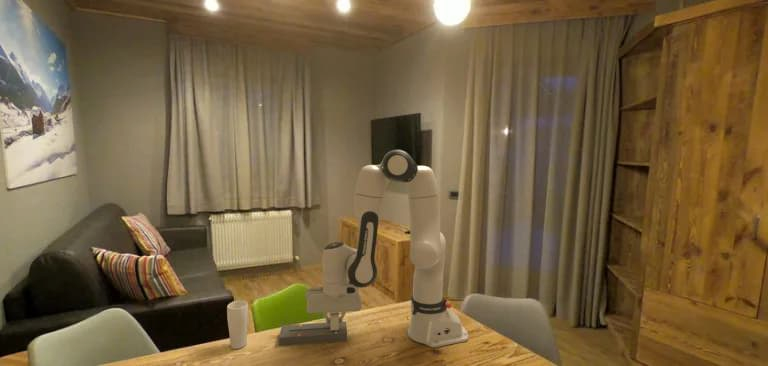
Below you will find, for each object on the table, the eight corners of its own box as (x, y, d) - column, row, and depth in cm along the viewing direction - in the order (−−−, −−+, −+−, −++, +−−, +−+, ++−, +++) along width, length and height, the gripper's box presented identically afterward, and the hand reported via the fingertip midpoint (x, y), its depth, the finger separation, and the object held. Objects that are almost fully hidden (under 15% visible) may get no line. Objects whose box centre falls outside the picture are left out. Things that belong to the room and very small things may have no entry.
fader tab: (338, 323, 137) (338, 310, 137) (338, 329, 132) (338, 316, 132) (330, 323, 137) (330, 310, 136) (330, 330, 132) (330, 317, 131)
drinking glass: (241, 352, 123) (240, 309, 122) (223, 349, 124) (222, 307, 123) (252, 341, 130) (251, 301, 128) (235, 339, 131) (234, 299, 130)
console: (345, 328, 140) (345, 321, 140) (347, 341, 131) (347, 332, 131) (282, 332, 136) (281, 325, 136) (278, 345, 127) (278, 337, 127)
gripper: (305, 291, 128) (305, 328, 129) (362, 288, 131) (362, 324, 133) (306, 284, 134) (306, 320, 136) (360, 282, 138) (360, 316, 139)
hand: (334, 322), depth 134 cm, fingers closed on fader tab, 3 cm apart
